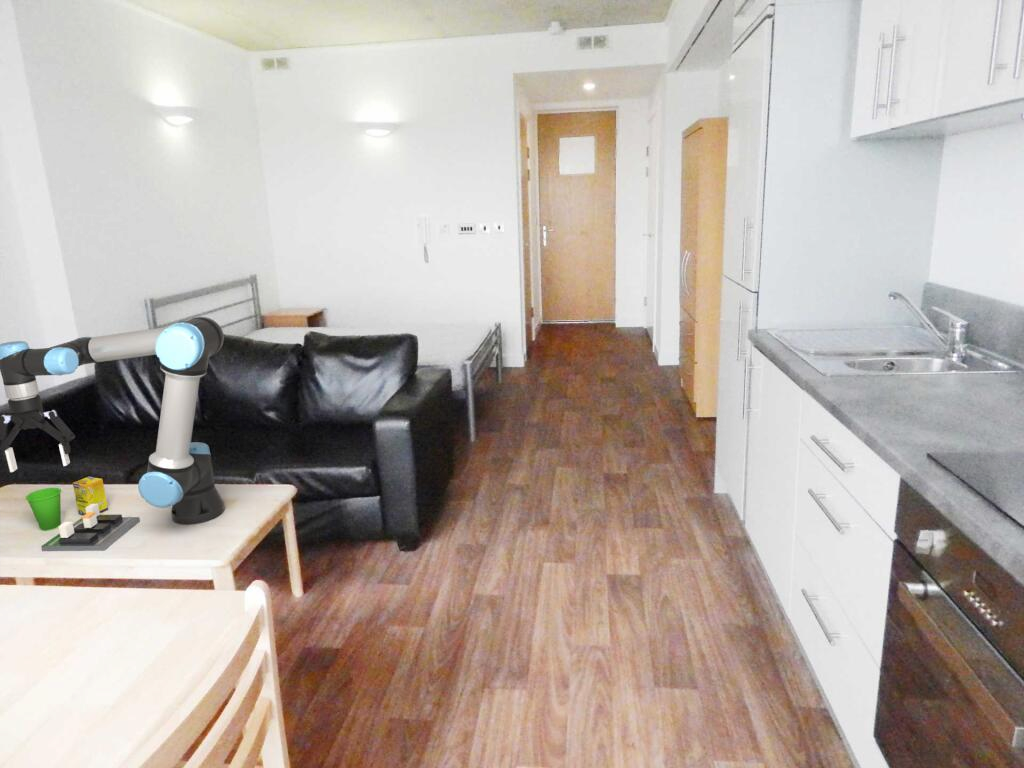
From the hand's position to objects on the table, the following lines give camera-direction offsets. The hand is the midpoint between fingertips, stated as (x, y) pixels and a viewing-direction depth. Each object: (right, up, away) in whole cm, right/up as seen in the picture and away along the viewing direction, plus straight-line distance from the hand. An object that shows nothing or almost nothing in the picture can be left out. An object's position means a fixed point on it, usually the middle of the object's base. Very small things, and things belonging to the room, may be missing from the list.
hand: (40, 467), depth 195 cm
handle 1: (+9, -19, -1) cm, 21 cm away
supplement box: (+2, -17, +21) cm, 27 cm away
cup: (-5, -20, +11) cm, 23 cm away
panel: (+12, -21, +5) cm, 25 cm away
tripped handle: (+12, -18, +4) cm, 22 cm away
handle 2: (+9, -16, +10) cm, 21 cm away
